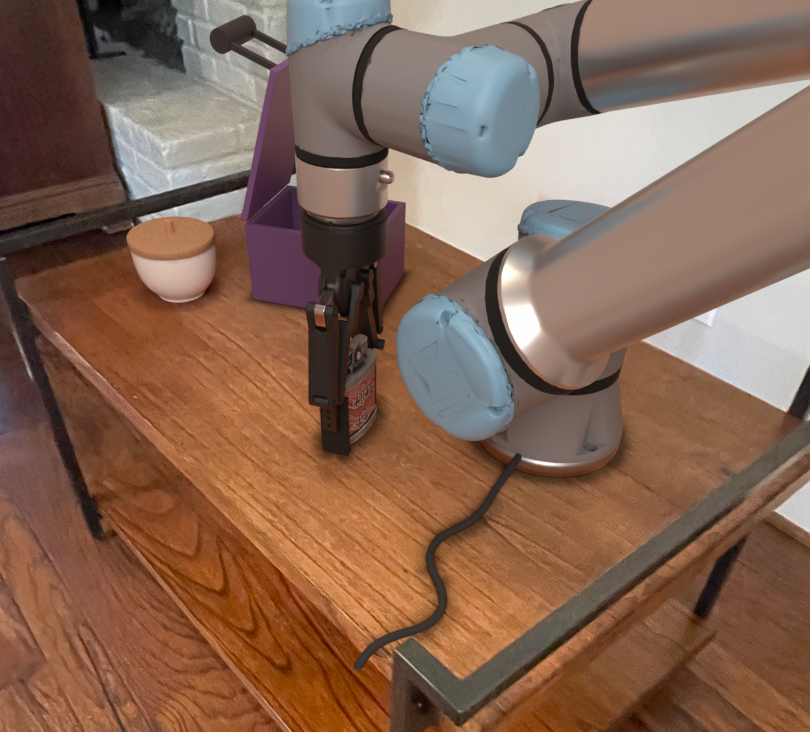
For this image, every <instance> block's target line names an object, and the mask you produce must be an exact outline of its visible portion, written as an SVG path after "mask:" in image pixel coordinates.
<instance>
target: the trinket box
mask: <svg viewBox="0 0 810 732" xmlns="http://www.w3.org/2000/svg"><path fill="white" fill-rule="evenodd" d="M126 244H127V248H128V249H129V251H130V255H131V256H130V257H131V260H132V263H133V265H134V268H135V271H136V273H137V275H138V277H139V278H140V280H141V281H142V283H143V284H144V286H146V287H147V288H148V289H149V290H150V291H151V292H153V293H154V294H155V295H157V296H158V297H159V298H160V299H162V300H163V301H166V302H169V303H176V304H179V303H181V304H182V303H188V302H192V301H196V300H197V299H200V298H201V297H202V296H204V294H205V293H206V291H207V289H208V288H209V287H210V285H211V283H213V280H214V277H215V275H216V271H217V261H218V260H217V259H218V258H217V247H216V234H215V230H214V228H213V226H211V224H210V223H208V222H206V221H204V220H201V219H199V218H195V217H189V216H163V217H156V218H152V219H148V220H147V221H143V222H140V223H139V224H137V225H135V226H133V227H132V228H131V229H130V230H129V231H128V232H127V234H126Z"/></svg>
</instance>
